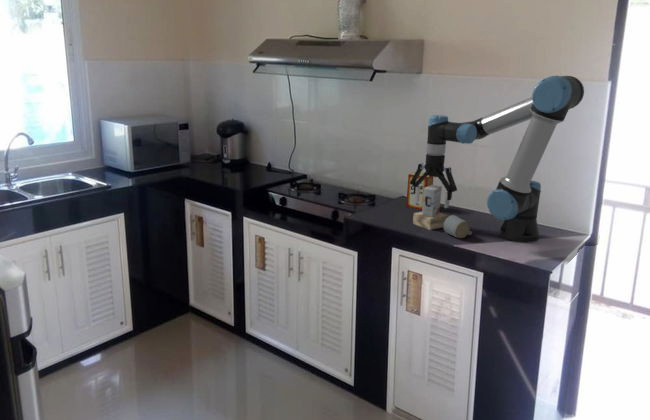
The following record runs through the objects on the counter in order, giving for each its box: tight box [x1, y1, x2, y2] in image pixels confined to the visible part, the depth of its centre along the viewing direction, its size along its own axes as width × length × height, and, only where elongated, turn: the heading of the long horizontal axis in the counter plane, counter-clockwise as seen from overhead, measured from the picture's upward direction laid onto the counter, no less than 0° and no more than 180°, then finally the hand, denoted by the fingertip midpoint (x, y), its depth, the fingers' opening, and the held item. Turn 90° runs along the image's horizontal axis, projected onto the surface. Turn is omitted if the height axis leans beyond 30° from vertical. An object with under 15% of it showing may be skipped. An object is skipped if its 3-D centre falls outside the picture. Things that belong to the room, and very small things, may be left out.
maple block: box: [412, 211, 449, 231], centre depth 232 cm, size 10×10×5 cm
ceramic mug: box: [443, 214, 473, 239], centre depth 218 cm, size 11×8×8 cm
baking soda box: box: [406, 171, 434, 211], centre depth 257 cm, size 10×6×16 cm
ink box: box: [421, 184, 442, 217], centre depth 229 cm, size 9×5×12 cm, turn 148°
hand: (431, 204), depth 230 cm, fingers open, 13 cm apart
